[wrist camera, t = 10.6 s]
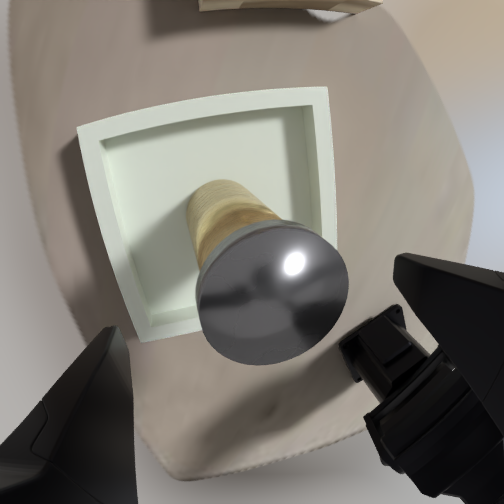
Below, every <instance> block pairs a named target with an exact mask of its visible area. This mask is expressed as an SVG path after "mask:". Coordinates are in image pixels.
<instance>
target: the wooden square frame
mask: <svg viewBox="0 0 504 504" xmlns="http://www.w3.org/2000/svg"><path fill="white" fill-rule="evenodd" d="M198 3H199V11H200V12H202V11H212V10H224V9H241V8H297V9H314V10H326V11H336V12H344V13H352V14H358V13H360V12H363V11H365V10H367V9H370V8H372V7H375V6H377V5H380V4H383V1H382V0H198Z"/></svg>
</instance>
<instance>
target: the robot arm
mask: <svg viewBox="0 0 504 504" xmlns="http://www.w3.org/2000/svg"><path fill="white" fill-rule="evenodd" d="M393 281H394V283H395V285H396V286H397V288H398V289H399V291H400V292H401V294H402V295H403V297H404V298H405V300H406V301H407V303H408V304H409V306H410V307H411V309H412V310H413V312H414V313H415V315H416V316H417V317H418V318H419V320H420V321H421V322H422V323H423V325H424V326H425V327H426V328H427V330H428V331H429V332H430V333H431V335H432V336H433V337H434V339H435V340H436V341H437V342H438V344H439V345H438V347H437V349H436V350H435V351H434V352H433V353H432V354H431V355H430V354H429V353H428V352H427V351H426V350H425V349H424V348H423V347H422V346H421V345H420V344H419V343H418V342H417V341H416V340H415V339H414V338H413V337H412V336H411V335H410V334H409V333H408V332H407V331H406V325H405V320H404V315H403V310H402V307H401V306H400V305H399V304H396V305H394V306H393V307H391V308H390V309H388V310H387V311H386V312H384V313H383V314H381V315H380V316H379V317H377V318H376V319H374V320H373V321H371V322H370V323H368V324H367V325H365V326H364V327H362V328H361V329H359V330H358V331H356V332H355V333H353V334H352V335H350V336H349V337H347V338H346V339H344V340H343V341H341V342H340V344H339V349H340V351H341V353H342V355H343V358H344V360H345V362H346V364H347V366H348V369H349V371H350V373H351V375H352V378H353V380H354V381H355V382H356V383H358V382H360V381H362V380H364V382H365V383H366V385H367V386H368V387H369V389H370V390H371V391H372V393H373V394H374V396H375V397H376V398H377V400H378V401H379V402H380V404H379V405H378V406H377V407H376V408H375V409H373V410H372V411H371V412H370V413H367V414H366V415H365V416H364V417H363V418H364V420H365V422H366V427H367V429H368V431H369V434H370V436H371V438H372V440H373V442H374V444H375V447H376V449H377V451H378V453H379V456H380V460H381V462H382V464H383V465H384V466H390V467H391V468H392V469H393V470H395V471H396V472H398V473H400V474H404V473H406V474H407V476H408V477H409V478H410V479H411V480H412V481H413V482H414V484H415V485H416V486H417V488H418V489H419V491H420V492H421V493H422V494H424V495H427V496H429V497H432V498H436V497H437V496H439V495H440V494H443V495H448V496H453V497H459V498H460V499H461V500H462V501H463V502H464V503H465V504H504V273H503V272H499V271H493V270H489V269H484V268H480V267H475V266H470V265H465V264H461V263H456V262H451V261H446V260H441V259H436V258H431V257H426V256H421V255H416V254H411V253H403V254H399V255H397V256H396V257H395V260H394V271H393ZM454 368H455V369H454ZM453 369H454V370H453ZM452 370H453V371H452ZM0 504H138V497H137V485H136V471H135V452H134V403H133V388H132V379H131V369H130V357H129V351H128V347H127V345H126V343H125V341H124V338H123V336H122V334H121V332H120V329H119V328H118V327H117V326H111V327H105V328H104V329H103V330H102V331H101V332H100V333H99V334H98V335H97V336H96V337H95V338H94V339H93V341H92V342H91V343H90V344H89V345H88V346H87V347H86V348H85V349H84V351H83V352H82V353H81V354H80V355H79V356H78V357H77V358H76V360H75V361H74V362H73V363H72V364H71V365H70V367H69V368H68V369H67V370H66V371H65V372H64V373H63V375H62V376H61V377H60V378H59V379H58V380H57V381H56V383H55V384H54V385H53V386H52V387H51V388H50V390H49V391H48V392H47V393H46V394H45V396H44V397H43V398H42V401H39V403H38V404H37V405H36V406H35V408H34V409H33V410H32V411H31V412H30V413H29V415H28V416H27V417H26V418H25V419H24V420H23V422H22V423H21V424H20V425H19V426H18V427H17V428H16V429H15V430H14V431H13V432H12V433H11V434H10V435H9V436H8V437H7V439H6V440H5V441H4V442H3V443H2V444H1V445H0Z"/></svg>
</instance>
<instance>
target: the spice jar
mask: <svg viewBox="0 0 504 504" xmlns="http://www.w3.org/2000/svg"><path fill="white" fill-rule="evenodd" d="M186 221H187V225H188V229H189V233H190V237H191V241H192V245H193V248H194V252H195V256H196V260H197V263H198V267H199V271H200V272H199V275H198V278H197V283H196V288H195V299H196V306H197V311H198V315H199V320H200V324H201V327H202V330H203V333H204V335H205V337H206V339H207V341H208V342H209V343H210V345H211V346H212V347H213V348H214V349H215V350H216V351H217V352H219V353H220V354H221V355H223V356H224V357H226V358H228V359H230V360H233V361H235V362H238V363H243V364H247V365H269V364H275V363H280V362H283V361H286V360H289V359H292V358H294V357H296V356H299V355H300V354H302V353H304V352H306V351H307V350H309V349H310V348H312V347H313V346H315V345H316V344H317V343H318V342H319V341H321V340H322V339H323V338H324V337H325V336H326V335H327V334H328V332H329V331H330V330H331V329H332V328H333V326H334V325H335V323H336V322H337V320H338V319H339V317H340V315H341V313H342V311H343V308H344V306H345V303H346V299H347V295H348V285H349V280H348V272H347V269H346V265H345V263H344V261H343V259H342V257H341V255H340V254H339V253H338V251H337V250H336V249H335V248H334V247H333V246H332V245H331V244H330V243H329V242H327V241H326V240H325V239H324V238H322V237H321V236H320V235H319V234H317V233H316V232H315V231H313V230H312V229H310V228H309V227H307V226H305V225H303V224H300V223H297V222H294V221H289V220H282V219H281V218H280V217H279V216H278V215H277V214H275V213H274V212H273V211H272V210H271V209H270V208H269V207H267V206H266V205H265V204H264V203H263V202H262V201H260V200H259V199H258V198H257V197H256V196H254V195H253V194H252V193H251V192H250V191H249V190H247V189H246V188H245V187H244V186H243V185H241V184H239V183H237V182H235V181H232V180H227V179H219V180H214V181H210V182H208V183H206V184H204V185H202V186H201V187H200V188H199V189H197V190H196V191H195V193H194V194H193V195H192V197H191V198H190V200H189V202H188V205H187V210H186Z"/></svg>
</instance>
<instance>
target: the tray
mask: <svg viewBox="0 0 504 504" xmlns="http://www.w3.org/2000/svg"><path fill="white" fill-rule="evenodd" d="M77 132H78V138H79V143H80V148H81V153H82V158H83V162H84V167H85V172H86V176H87V180H88V184H89V189H90V193H91V197H92V200H93V204H94V208H95V212H96V215H97V219H98V223H99V226H100V230H101V233H102V236H103V240H104V243H105V246H106V249H107V253H108V256H109V259H110V262H111V265H112V268H113V271H114V274H115V277H116V280H117V283H118V285H119V288H120V291H121V294H122V296H123V299H124V302H125V305H126V307H127V310H128V312H129V315H130V317H131V320H132V323H133V325H134V328H135V330H136V332H137V335H138V337H139V340H140V342H141V343H144V342H149V341H154V340H159V339H164V338H168V337H173V336H178V335H182V334H187V333H191V332H196V331H200V330H202V327H201V324H200V320H199V315H198V311H197V306H196V299H195V288H196V283H197V278H198V275H199V272H200V271H199V267H198V263H197V260H196V256H195V252H194V248H193V245H192V241H191V237H190V233H189V229H188V225H187V221H186V210H187V205H188V202H189V200H190V198H191V197H192V195H193V194H194V193H195V191H196V190H197V189H199V188H200V187H201V186H202V185H204V184H206V183H208V182H210V181H214V180H219V179H227V180H232V181H235V182H237V183H239V184H241V185H243V186H244V187H245V188H246V189H247V190H249V191H250V192H251V193H252V194H253V195H254V196H256V197H257V198H258V199H259V200H260V201H262V202H263V203H264V204H265V205H266V206H267V207H269V208H270V209H271V210H272V211H273V212H274V213H275V214H277V215H278V216H279V217H280V218H281V219H282V220H289V221H294V222H297V223H300V224H303V225H305V226H307V227H309V228H310V229H312V230H313V231H315V232H316V233H317V234H319V235H320V236H321V237H322V238H324V239H325V240H326V241H327V242H329V243H330V244H331V245H332V246H333V247H334V248H335V249H336V250H337V214H336V189H335V171H334V155H333V142H332V130H331V119H330V108H329V99H328V90H327V87H299V88H282V89H268V90H257V91H247V92H238V93H230V94H222V95H215V96H208V97H202V98H196V99H190V100H184V101H179V102H174V103H168V104H164V105H159V106H154V107H149V108H145V109H141V110H136V111H132V112H128V113H124V114H120V115H117V116H113V117H109V118H106V119H102V120H99V121H95V122H92V123H88V124H85V125H82V126H79V127H77Z"/></svg>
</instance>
